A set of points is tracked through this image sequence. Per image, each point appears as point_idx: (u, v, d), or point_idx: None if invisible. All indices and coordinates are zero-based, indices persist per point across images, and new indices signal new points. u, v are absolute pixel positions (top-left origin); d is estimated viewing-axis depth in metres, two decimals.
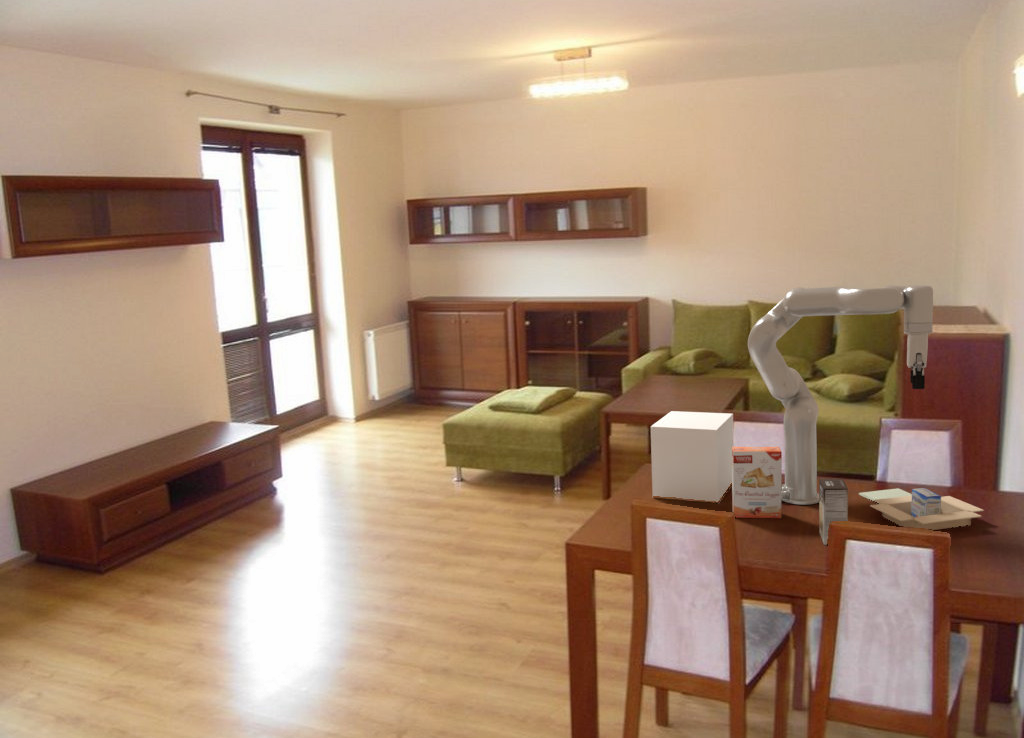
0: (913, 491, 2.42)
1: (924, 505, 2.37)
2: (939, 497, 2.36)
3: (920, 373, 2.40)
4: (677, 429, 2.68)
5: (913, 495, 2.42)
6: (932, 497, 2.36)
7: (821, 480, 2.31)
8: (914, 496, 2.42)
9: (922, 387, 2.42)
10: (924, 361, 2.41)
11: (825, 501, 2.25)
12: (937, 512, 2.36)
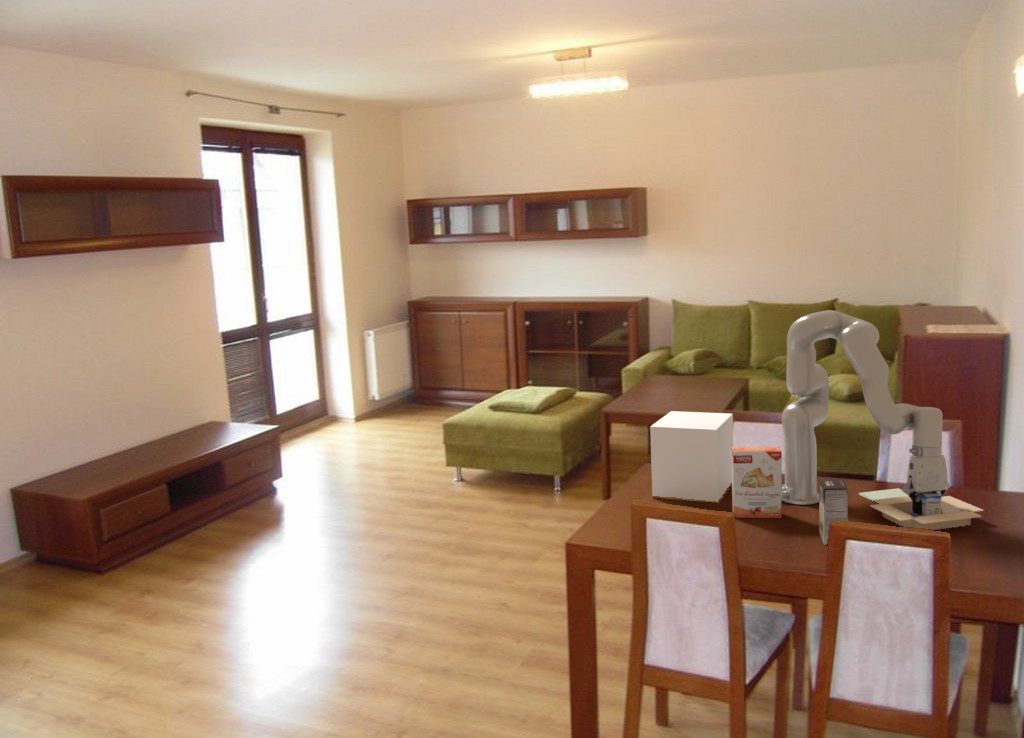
0: None
1: (923, 505, 2.37)
2: (939, 497, 2.36)
3: None
4: (677, 429, 2.68)
5: None
6: (932, 497, 2.36)
7: (821, 480, 2.31)
8: None
9: None
10: None
11: (825, 501, 2.25)
12: (937, 512, 2.36)
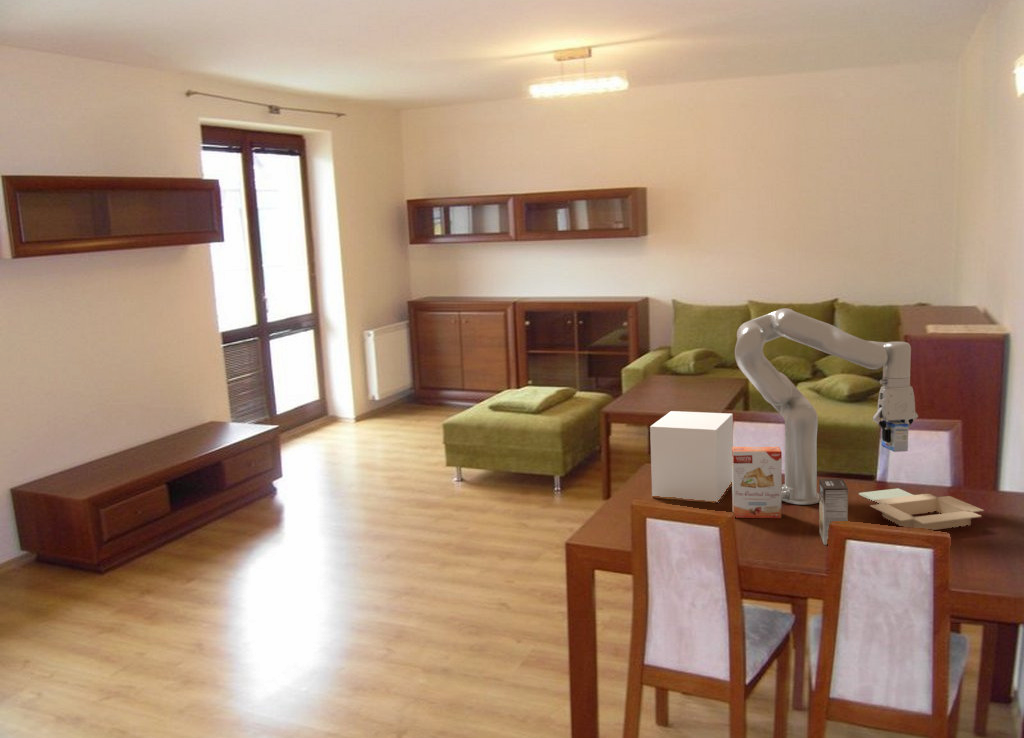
0: None
1: (892, 432, 2.54)
2: (906, 425, 2.53)
3: None
4: (677, 429, 2.68)
5: None
6: (900, 425, 2.53)
7: (821, 480, 2.31)
8: None
9: None
10: None
11: (825, 501, 2.25)
12: (904, 439, 2.54)
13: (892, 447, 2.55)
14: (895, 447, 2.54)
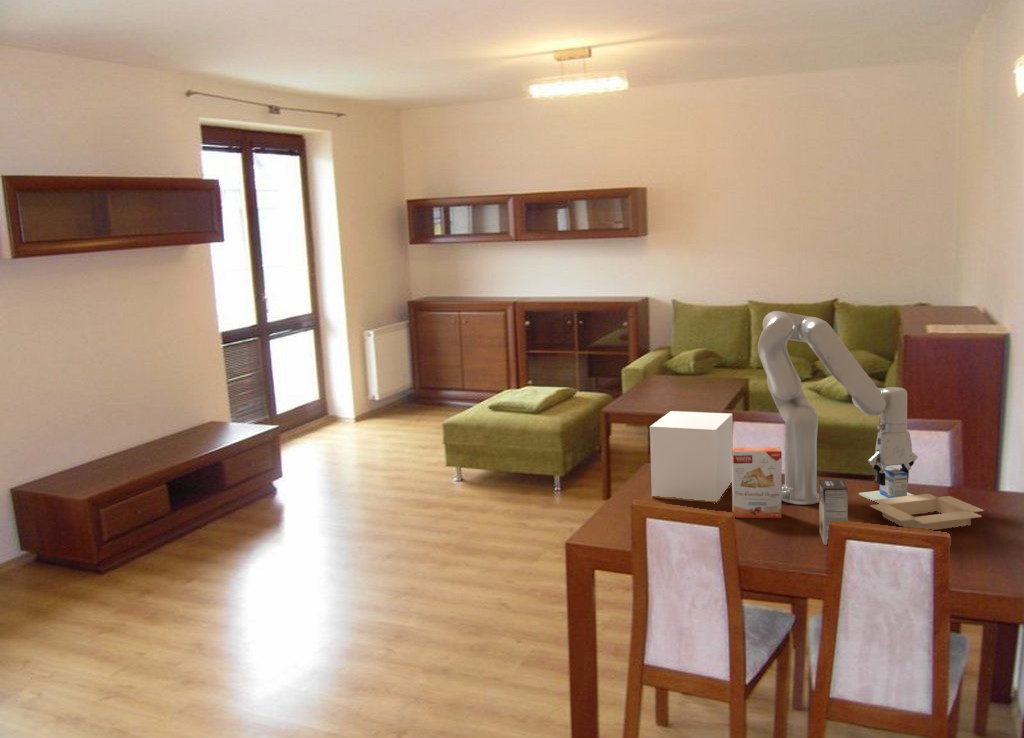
0: None
1: (892, 481, 2.58)
2: (905, 474, 2.57)
3: None
4: (676, 429, 2.68)
5: None
6: (899, 474, 2.57)
7: (821, 480, 2.31)
8: None
9: None
10: None
11: (825, 501, 2.25)
12: (904, 488, 2.58)
13: (892, 496, 2.58)
14: (895, 496, 2.58)
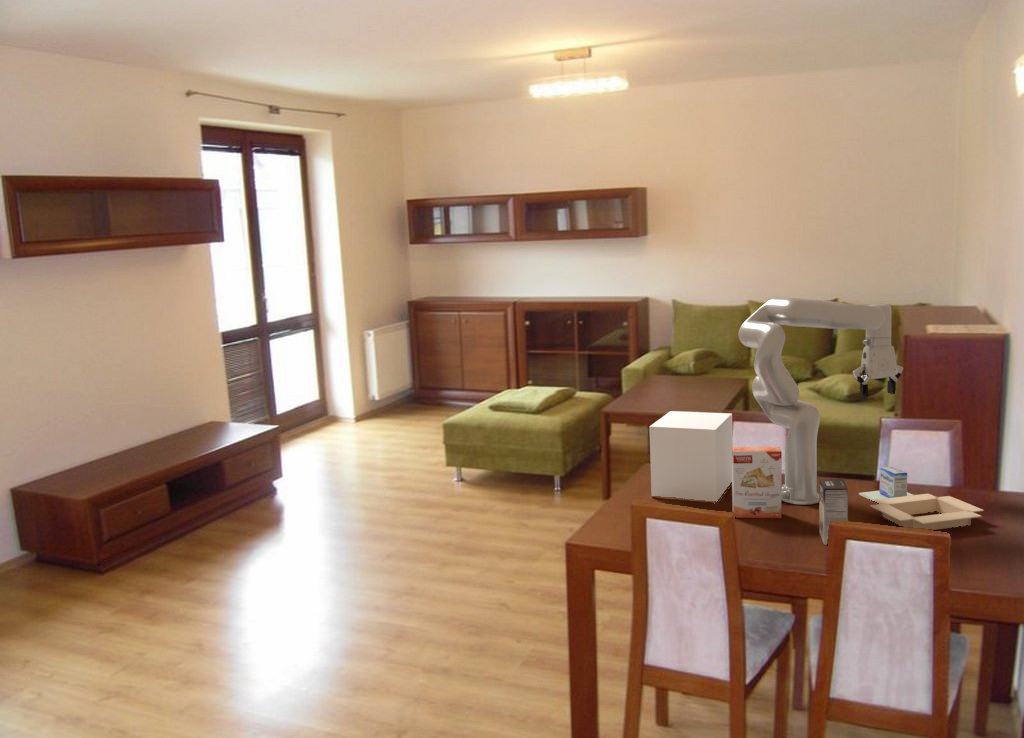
0: (881, 469, 2.63)
1: (892, 481, 2.58)
2: (905, 474, 2.57)
3: None
4: (676, 429, 2.68)
5: (881, 473, 2.63)
6: (899, 474, 2.57)
7: (821, 480, 2.31)
8: (882, 474, 2.63)
9: None
10: None
11: (825, 501, 2.25)
12: (904, 488, 2.58)
13: (892, 496, 2.58)
14: (895, 496, 2.58)
